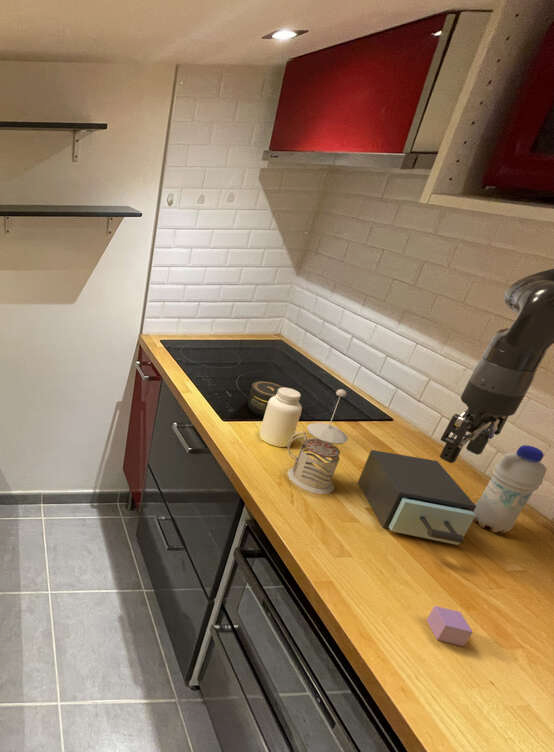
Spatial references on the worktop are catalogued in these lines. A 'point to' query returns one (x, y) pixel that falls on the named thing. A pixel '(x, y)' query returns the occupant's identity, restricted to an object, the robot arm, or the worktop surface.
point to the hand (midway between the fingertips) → (460, 456)
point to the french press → (307, 472)
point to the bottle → (510, 488)
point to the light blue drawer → (431, 520)
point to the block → (449, 626)
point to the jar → (261, 396)
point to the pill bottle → (281, 417)
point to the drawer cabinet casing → (407, 484)
